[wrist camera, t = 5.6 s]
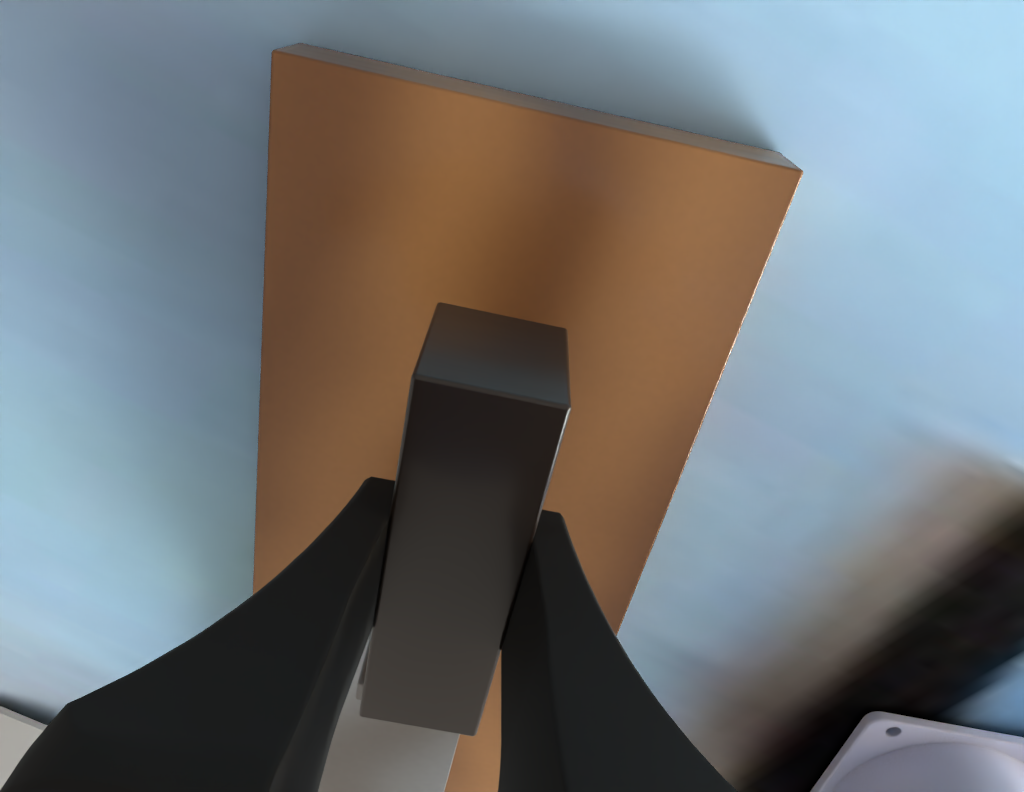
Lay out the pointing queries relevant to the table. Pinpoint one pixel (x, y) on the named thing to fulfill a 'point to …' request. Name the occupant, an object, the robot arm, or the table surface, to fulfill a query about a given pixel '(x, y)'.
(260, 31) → the table surface
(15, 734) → the kitchen cleaver
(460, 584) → the two-tone stepped block
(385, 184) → the cutting board
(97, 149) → the table surface
